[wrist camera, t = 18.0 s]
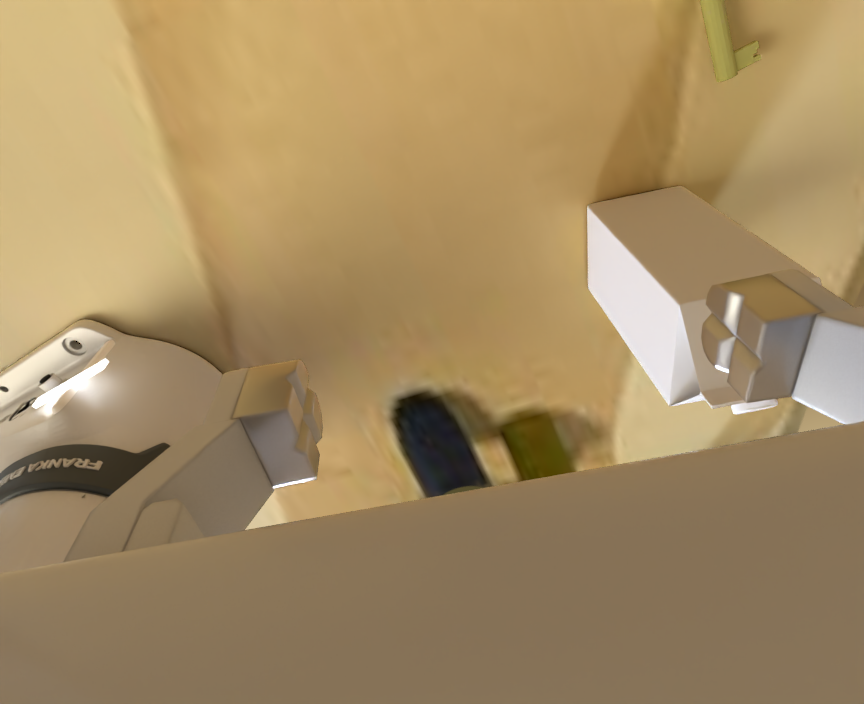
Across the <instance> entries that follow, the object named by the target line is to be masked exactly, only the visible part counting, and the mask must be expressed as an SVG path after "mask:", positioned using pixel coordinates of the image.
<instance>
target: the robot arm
mask: <svg viewBox="0 0 864 704" xmlns="http://www.w3.org/2000/svg"><path fill="white" fill-rule="evenodd" d="M706 305H707V307H708V308H709V309H710V311H711V312H712V313H711V314H710V316H709V317H708V318H707V319H706V320H705V322H704V323H703V326H702V334H701V340H702V345H703V350H704V353H705V355H706V357H707V359H708V360H709V362H710V363H711V364H712V365H713V366H714V367H715V368H717V369H719V370H722V371H724V372H727V373H729V374H728V379H727V382H728V383H729V384H730V386H731V387H732V388H733V389H734V390H735V391H736V392H737V393H738V394H739V396H740V397H741V398H742V399H743V400H744V401H745V402H746V403H751V402H758V401H765V400H771V399H778V398H784V397H791V396H792V399H794V400H796V401H798V402H800V403H802V404H804V405H806V406H808V407H810V408H812V409H814V410H816V411H818V412H820V413H822V414H824V415H826V416H828V417H830V418H832V419H835V420H836V421H838V422H840V423H842V424H844V425H839V426H834V427H828V428H822V429H817V430H811V431H806V432H800V433H794V434H788V435H783V436H777V437H771V438H766V439H760V440H754V441H749V442H743V443H737V444H732V445H726V446H720V447H715V448H709V449H703V450H698V451H692V452H686V453H681V454H675V455H669V456H664V457H658V458H652V459H647V460H641V461H635V462H630V463H624V464H618V465H613V466H607V467H601V468H596V469H590V470H584V471H579V472H573V473H567V474H562V475H556V476H550V477H544V478H539V479H533V480H527V481H522V482H516V483H510V484H505V485H499V486H493V487H488V488H482V489H477V490H471V491H465V492H460V493H454V494H448V495H442V496H436V497H431V498H425V499H419V500H414V501H408V502H402V503H397V504H391V505H385V506H380V507H374V508H368V509H363V510H357V511H351V512H346V513H340V514H334V515H328V516H323V517H317V518H311V519H306V520H300V521H294V522H289V523H283V524H277V525H272V526H266V527H260V528H255V529H249V530H245V529H246V527H247V526H248V525H249V523H250V522H251V521H252V519H253V518H254V517H255V515H256V514H257V513H258V511H259V510H260V509H261V507H262V506H263V505H264V503H265V502H266V501H267V499H268V498H269V497H270V495H271V494H272V493H273V491H274V489H273V488H278V487H283V486H287V485H292V484H297V483H302V482H307V481H312V480H317V472H318V464H319V456H320V454H319V451H318V448H317V446H316V444H317V443H318V442H319V440H320V439H321V438H322V429H323V426H322V414H321V410H320V405H319V402H318V399H317V396H316V393H314V392H313V391H311V390H310V389H308V381H309V374H308V372H307V369H306V367H305V364H304V363H303V362H302V361H301V360H300V359H299V360H293V361H287V362H280V363H274V364H268V365H262V366H256V367H252V368H249V367H248V368H243V369H238V370H233V371H228V372H226V373H224V374H222V373H221V372H220V371H218V370H217V369H216V368H215V367H214V366H213V365H212V364H210V363H209V362H207V361H206V360H205V359H203V358H202V357H200V356H198V355H196V354H195V353H193V352H191V351H189V350H186V349H184V348H182V347H179V346H176V345H174V344H170V343H167V342H163V341H159V340H154V339H148V338H141V337H135V336H130V335H126V334H123V333H121V332H119V331H117V330H115V329H113V328H111V327H109V326H106V325H104V324H102V323H99V322H96V321H93V320H87V319H84V320H79V321H77V322H75V323H74V324H72V325H71V326H69V327H68V328H66V329H65V330H63V331H62V332H60V333H59V334H57V335H56V336H54V337H53V338H51V339H50V340H48V341H47V342H45V343H44V344H42V345H41V346H39V347H38V348H36V349H35V350H33V351H32V352H30V353H29V354H27V355H26V356H24V357H23V358H21V359H20V360H18V361H17V362H16V363H14V364H13V365H11V366H10V367H8V368H7V369H5V370H4V371H2V372H1V373H0V704H864V306H860V307H853V306H851V305H850V304H848V303H847V302H845V301H844V300H842V299H841V298H839V297H838V296H836V295H835V294H833V293H832V292H830V291H829V290H827V289H826V288H824V287H823V286H821V285H820V284H818V283H817V282H815V281H814V280H812V279H811V278H809V277H808V276H806V275H805V274H803V273H802V272H800V271H799V270H794V269H787V270H782V271H777V272H773V273H768V274H764V275H760V276H755V277H750V278H745V279H741V280H736V281H731V282H726V283H721V284H716V285H712V286H711V288H710V290H709V292H708V294H707V300H706ZM74 340H75V341H78V342H80V343H81V344H78V343H76V342H75V341H74Z"/></svg>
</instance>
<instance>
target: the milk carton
mask: <svg viewBox="0 0 864 704" xmlns="http://www.w3.org/2000/svg"><path fill="white" fill-rule="evenodd" d="M587 239H588V288H589V290H590V292H591V293H592V294H593V296H594V297H595V299H596V300H597V302H598V303H599V305H600V306H601V308H602V309H603V310H604V312H605V313H606V315H607V316H608V318H609V319H610V321H611V322H612V324H613V325H614V326H615V328H616V329H617V331H618V332H619V334H620V335H621V337H622V338H623V340H624V341H625V343H626V344H627V345H628V347H629V348H630V350H631V351H632V353H633V354H634V356H635V357H636V359H637V360H638V361H639V363H640V364H641V366H642V367H643V369H644V370H645V372H646V373H647V375H648V376H649V377H650V379H651V380H652V382H653V383H654V385H655V386H656V388H657V389H658V391H659V392H660V393H661V395H662V396H663V398H664V399H665V401H666V402H667V403H668V405H669V406H675V405H681V404H686V403H691V402H697V401H702V400H705V401H706V402H707V404H708V405H709V406H710V407H711V408H713V409H715V408H720V407H725V406H730V405H731V408H732V411H733V413H734V414H743V413H748V412H753V411H758V410H763V409H767V408H771V407H775V406H776V405H778V402H777V399H771V400H765V401H758V402H751V403H746V402H745V401H744V400H743V399H742V398H741V397H740V396H739V394H738V393H737V392H736V391H735V390H734V389H733V388H732V387H731V386H730V384H729V383H728V382H727V379H728V374H729V373H727V372H724V371H722V370H719V369H717V368H715V367H714V366H713V365H712V364H711V363H710V362H709V360H708V359H707V357H706V355H705V353H704V350H703V345H702V340H701V334H702V326H703V323H704V322H705V320H706V319H707V318H708V317H709V316H710V314H711V313H712V312H711V311H710V309H709V308H708V307H707V305H706V300H707V294H708V292H709V290H710V288H711V286H712V285H716V284H721V283H726V282H731V281H736V280H741V279H745V278H750V277H755V276H760V275H764V274H768V273H773V272H777V271H782V270H787V269H794V270H799V271H800V272H802V273H803V274H805V275H806V276H808V277H809V278H811V279H812V280H814V281H815V282H817V283H818V284H820V285H821V286H822V284H821V281H820V278H819V277H817V276H815V275H814V274H812V273H811V272H809V271H808V270H806V269H805V268H803V267H802V266H800V265H799V264H797V263H796V262H794V261H793V260H791V259H790V258H788V257H787V256H785V255H784V254H783V253H781V252H780V251H778V250H777V249H775V248H774V247H772V246H771V245H769V244H768V243H766V242H765V241H763V240H762V239H760V238H759V237H757V236H756V235H754V234H753V233H751V232H750V231H748V230H747V229H745V228H744V227H742V226H741V225H740V224H738V223H737V222H735V221H734V220H732V219H731V218H729V217H728V216H726V215H725V214H723V213H722V212H720V211H719V210H717V209H716V208H714V207H713V206H711V205H710V204H708V203H707V202H705V201H704V200H702V199H701V198H700V197H698V196H697V195H695V194H694V193H692V192H691V191H689V190H688V189H686V188H685V187H683V186H675V187H670V188H665V189H660V190H655V191H650V192H646V193H641V194H636V195H631V196H626V197H621V198H616V199H611V200H607V201H602V202H597V203H592V204H589V205H588V206H587Z"/></svg>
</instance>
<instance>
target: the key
mask: <svg viewBox="0 0 864 704" xmlns="http://www.w3.org/2000/svg"><path fill="white" fill-rule="evenodd" d="M700 4H701V9H702V14H703V18H704V23H705V28H706V33H707V38H708V42H709V47H710V52H711V57H712V62H713V67H714V71H715V76H716V81H717V82H722V81H726V80H728V79H731V78H733V77H734V76H736V75H737V74H738V72H737V71H739V70H741V69H743V68H745V67H747V66H749V65H751V64H753V63H755V62H757V61H759V60H761V55H755V56H753V54H755V53H757V49H758V48H759V43H758V41H753V42H751V43H749V44H747V45H746V46H744V47H742V48H740V49H738V50H736V51H734V50H733V45H732V40H731V34H730V29H729V24H728V18H727V13H726V8H725V2H724V0H700Z"/></svg>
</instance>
